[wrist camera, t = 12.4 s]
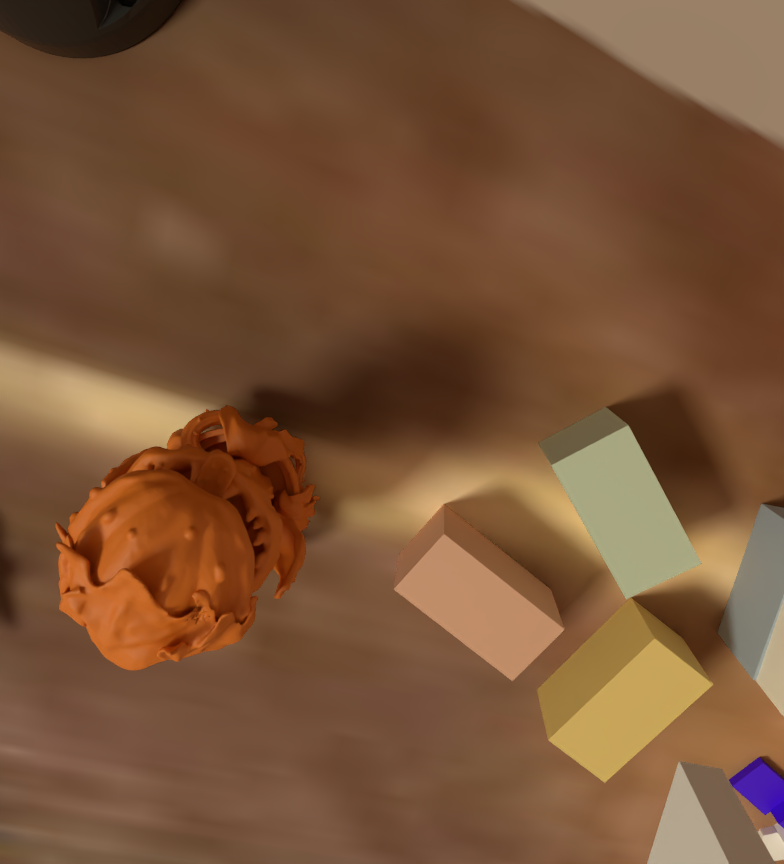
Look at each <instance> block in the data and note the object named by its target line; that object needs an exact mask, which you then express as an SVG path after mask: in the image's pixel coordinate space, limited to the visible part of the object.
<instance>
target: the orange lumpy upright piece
mask: <svg viewBox="0 0 784 864" xmlns="http://www.w3.org/2000/svg"><path fill="white" fill-rule="evenodd" d="M214 425H222V427H223V429H215V430H211V431H208V432H205V433H203V434H201V433H202V432H203V431H204V430H205V429H207V428H209V427H211V426H214ZM276 427H277V422H275V421H273V418H272V417H265V418H264V419H263V420H262V421H259V422H256V423H255V424H254V425H251V424H249V423H247V422H245V421H244V420H242V418H241V416H240V415H239V413H238V412H237V410H236V409H235V408H234V407H230V406H228V405H226V406H225V407H223V408H221V410H213V411H209V410H207V409H206V412H204V413H202V414H200V415H198V416H196V417H195V418H193V419H192V420H191V421H189V422H188V424H187V425H186V426H185V427H184V429H179V430H177V431H176V432H174V433H173V434H172V436H171V437H170V438H169V441H168V443H167V449H164V448H161V447H152V448H149V449H146V450H143V451H141V452H140V453H138V454H135V455H132V456H131V457H129V458H127V459H125V460H124V461H123V462H122V463H121V465H120V466H119V467H118V468H112V469H111V470H110V472H109V474H108V475H107V476H106V477H105V478H104V479H103V480H102V484H101V485H102V488H99V487H95V488H93V489H92V490H91V491H90V498H89V499H88V501H87V502H86V503H85V505H84V506H83V508H82V509H81V510H80V511H79V512H74V513H73V514H71V516H70V525H69V527H68V533H67V532H66V531H65V530H64V529H63V528H62V527H61V526H60V525H59V524H58V523H56V524H55V526H56V529H57V532H58V534H59V536H60V538H61V539H62V542H63V543H62V542H57V543H56V547H57V548H58V549H59V550H60V551H61V554H60V556H59V562H58V567H59V574H60V581H59V587H60V595H61V602H60V606H59V609H60V610H61V611H62V612H65V613H66V614H68V615H69V616H70V617H71V618H72V619H74V620H75V621H76V622H77V623H78V624H80V625H81V626H83V627H85V626H86V628H87V630H88V633H89V635H90V637H91V640H92V641H93V642H94V643H95V645H96V646H97V647H98V649H99V650H100V652H101V653H102V654H103V656H104V657H106V658H107V659H108V660H110V661H112V662H113V663H115V664H116V665H118V666H119V667H121V668H124V669H127V670H140V669H144V668H146V667H149V666H150V665H153V664H156V663H159V662H162V661H165V660H168V659H171V660H174V661H176V662H178V661H180V660H181V659H182V658H186V657H189V656H192V655H196V654H199V653H201V652H205V651H212V650H218V649H221V648H223V647H225V646H226V645H228V644H233V643H235V642H238V641H239V640H241V639H242V637H243V635H244V634H245V633H246V632H247V630H248V629H249V628H250V627H251V625H252V624H253V622H254V620H255V615H256V614H255V611H256V601H257V600H258V597H257V596H254V597H251V596H252V593H253V592H255V591H257V590H258V589H259V588H260V587H261V585H262V584H263V582H264V580H265V579H266V577H267V576H268V574H269V572H270V571H271V570H272V569H273V568H274V570H275V571H276V572H277V573H278V575H279V577H280V581H279V584H278V586H277V590H276V593H275V595H274V598H276V599H280V598H281V596H282V595H283V593H284V592H285V591H286V590H289V588H290V584H291V583H293V582H295V578H296V576H297V572H298V571H299V570H300V568H301V567H302V565H303V563H304V559H305V554H306V544H305V538H304V535H303V534H302V533H301V531H303V529H306V528H307V525H308V523H309V522H310V521H308V519H307V518H308V517H312V516H313V515H314V514H315V510H314V505H315V501H317V500H319V499H320V497H318V496H312V493H313V491H314V488H315V485H313V484H311V485H307V486H306V488H305V490H304V488H303V486H302V482H304V481H305V480H303V479H302V478H303V475H304V472H305V469H306V459H305V455H304V452H303V450H304V441H303V440H302V439H298V438H296V437H292V436H291V435H290V434H289V433H288V431H287V430H286V429H284V430H282V431H276V430H273V429H274V428H276ZM289 456H291V457H293V458H295V460H296V469H295V468H294V466H293V464H292V462H291V460H290V459H289ZM309 501H310V503H308V502H309Z"/></svg>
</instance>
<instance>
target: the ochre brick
mask: <svg viewBox="0 0 784 864" xmlns="http://www.w3.org/2000/svg"><path fill="white" fill-rule="evenodd" d="M712 685H713V683H712V682H711V680H710V679H709V677H708V676H707V674H706V673H705V671H704V670H703V668H702V667H701V665H700V664H699V662H698V661H697V659H696V658H695V656H694V655H693V653H692V652H691V650H690V649H689V647H688V646H687V644H686V642H685V641H684V639H683V638H682V637H680V636H679V635H678V634H677V633H675V632H674V631H673V630H671V629H670V628H669V627H668V626H666V625H665V624H664V623H663V622H661V621H660V620H659V619H658V618H656V617H655V616H654V615H653V614H651V613H650V612H649V611H647V610H646V609H645V608H644V607H642V606H641V605H640V604H639V603H637V602H636V601H635V600H634V599H632V598H631V597H630V598H629V599H628V600H627V601H626V602H625V603H624V604H623V605H622V606H621V607H620V608H619V609H618V610H617V611H616V612H615V613H614V614H613V615H612V616H611V617H610V618H609V619H608V620H607V621H606V622H605V623H604V624H603V625H602V626H601V627H600V628H599V629H598V630H597V631H596V632H595V633H594V634H593V635H592V636H591V637H590V638H589V639H588V640H587V641H586V642H585V643H584V644H583V645H582V646H581V647H580V648H579V649H578V650H577V651H576V652H575V653H574V654H573V655H572V656H571V657H570V658H569V659H568V660H567V661H566V662H565V663H564V664H563V665H562V666H561V667H560V668H559V669H558V670H557V671H555V672H554V673H553V674H552V675H551V676H550V677H549V678H548V679H547V680H546V681H545V682H544V683H543V684H542V685H541V686H540V687H539V688H538V689H537V693H538V697H539V702H540V706H541V710H542V715H543V719H544V724H545V728H546V732H547V737H548V740H549V741H550V742H552V743H553V744H554V745H556V746H557V747H558V748H560V749H561V750H562V751H563V752H565V753H566V754H567V755H569V756H570V757H571V758H573V759H574V760H575V761H577V762H578V763H579V764H581V765H582V766H583V767H585V768H586V769H587V770H589V771H590V772H591V773H593V774H594V775H595V776H597V777H598V778H599V779H601V780H602V781H603V782H606V781H607V780H608V779H609V778H610V777H611V776H613V775H614V774H615V773H616V772H617V771H618V770H619V769H620V768H621V767H622V766H624V765H625V764H626V763H627V762H628V761H629V760H630V759H631V758H632V757H634V756H635V755H636V754H637V753H638V752H639V751H640V750H641V749H642V748H643V747H645V746H646V745H647V744H648V743H649V742H650V741H651V740H652V739H653V738H655V737H656V736H657V735H658V734H659V733H660V732H661V731H662V730H663V729H664V728H666V727H667V726H668V725H669V724H670V723H671V722H672V721H673V720H674V719H676V718H677V717H678V716H679V715H680V714H681V713H682V712H683V711H684V710H685V709H687V708H688V707H689V706H690V705H691V704H692V703H693V702H694V701H695V700H697V699H698V698H699V697H700V696H701V695H702V694H703V693H704V692H705V691H706V690H708V689H709V688H710V687H711V686H712Z"/></svg>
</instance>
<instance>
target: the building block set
mask: <svg viewBox="0 0 784 864" xmlns="http://www.w3.org/2000/svg"><path fill="white" fill-rule="evenodd" d="M729 781H730V783H731V785H732V786H733V787H734V788H735V789H736V790H737V791H738V792H740V793H741V794H742V795H743V796H744V797H745V798H746V799H748V800H749V801H750V802H751V803H752V804H753V805H754V806H755V807H757V808H758V809H759V810H760V811H761V812H762V813H763V814H765V815H766V814H767V813H769V812H770V811H771V813H772V814H773V816H774V817H775V819H776V821H777V822H778V823H777V824H775V825H774V826H771V827H766V828H762V829H759V831H758V834H759V835H760V837H761V839H762V841H763V842H764V844H765V846H766V848H767V849H768V851H769V853H770V855H771V857H772V858H773V860H774V861H777V860H784V779H783V778H782V777H781V776H780V775H779V774H778V773H777V772H776V771H774V770H773V769H772V768H771V767H770V766H769V765H768V764H767V763H765V762H764V761H763V760H762V759H761V758H760V757H759V758H757V759H756V760H755V761H753V762H752V763H751V764H749V765H748V766H747V767H745V768H744V769H743V770H741V771H740V772H739V773H737V774H736V775H735V776H733V777H732V778H731V779H729Z"/></svg>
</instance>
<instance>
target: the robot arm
mask: <svg viewBox="0 0 784 864" xmlns="http://www.w3.org/2000/svg"><path fill="white" fill-rule="evenodd" d="M180 1H181V0H0V31H2V32H4V33H6V34H8V35H9V36H11V37H13V38H15V39H17V40H18V41H20V42H22V43H24V44H26V45H28V46H30V47H32V48H34V49H37V50H40V51H42V52H45V53H49V54H52V55H56V56H62V57H69V58H94V57H100V56H105V55H110V54H113V53H116V52H119V51H122V50H124V49H126V48H129V47H131V46H133V45H135V44H136V43H138V42H140V41H141V40H143V39H144V38H146V37H147V36H149V35H150V34H151V33H153V32H154V31H155V30H156V29H157V28H158V27H159V26H160V25H162V24H163V23H164V21H165V20H166V19H167V18H168V17H169V16H170V15H171V14H172V12H173V11H174V10H175V8H176V7H177V6H178V4H179V3H180ZM647 864H775V862H774V860H773V858H772V857H771V855H770V853H769V851H768V849H767V848H766V846H765V844H764V842H763V841H762V839H761V837H760V835H759V834H758V832H757V830H756V828H755V827H754V825H753V823H752V821H751V819H750V818H749V816H748V814H747V812H746V811H745V809H744V807H743V805H742V804H741V802H740V800H739V798H738V796H737V795H736V793H735V791H734V789H733V788H732V786H731V784H730V782H729V781H728V779H727V777H726V775H725V774H724V772H723V770H722V769H720V768H714V767H709V766H703V765H698V764H692V763H687V762H682V761H679V763H678V766H677V770H676V773H675V776H674V779H673V782H672V786H671V789H670V792H669V795H668V798H667V802H666V805H665V808H664V811H663V814H662V818H661V821H660V824H659V827H658V831H657V834H656V837H655V840H654V843H653V847H652V850H651V853H650V856H649V859H648V863H647Z"/></svg>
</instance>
